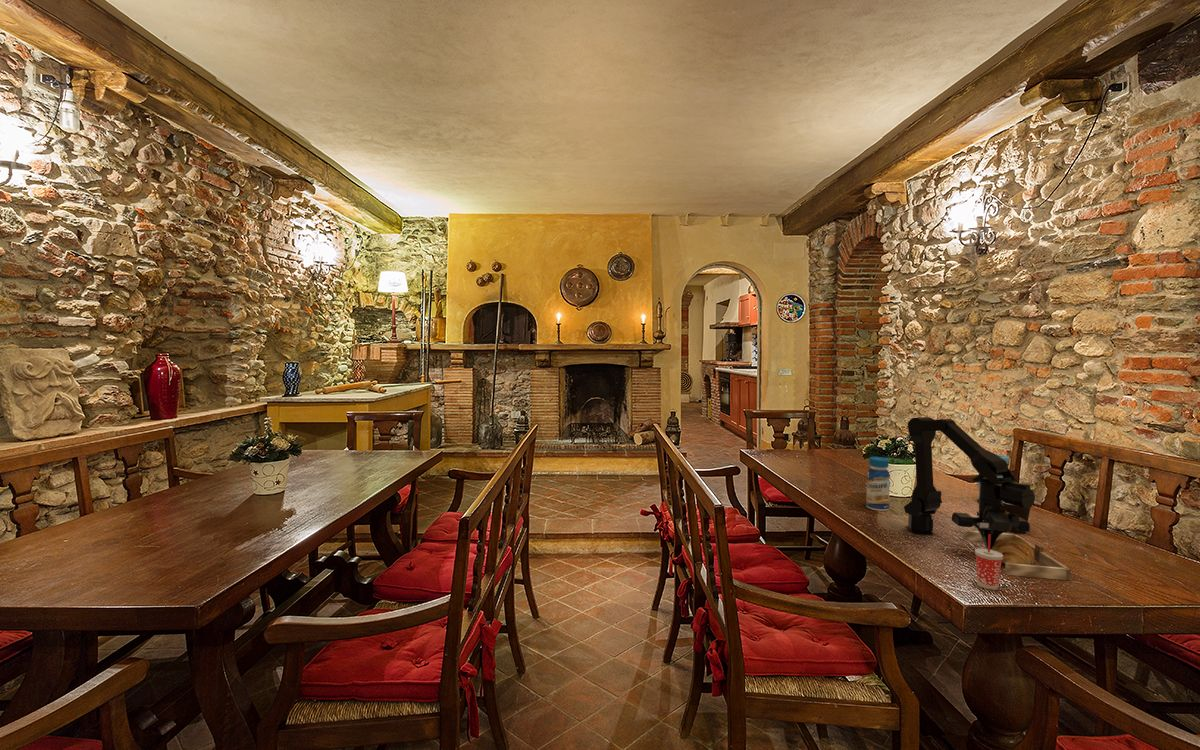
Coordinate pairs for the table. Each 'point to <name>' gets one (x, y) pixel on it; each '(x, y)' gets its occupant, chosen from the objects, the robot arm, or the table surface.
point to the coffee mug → (1019, 511)
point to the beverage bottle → (878, 484)
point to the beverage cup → (988, 567)
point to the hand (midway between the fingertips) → (988, 549)
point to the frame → (1049, 571)
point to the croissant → (1014, 550)
